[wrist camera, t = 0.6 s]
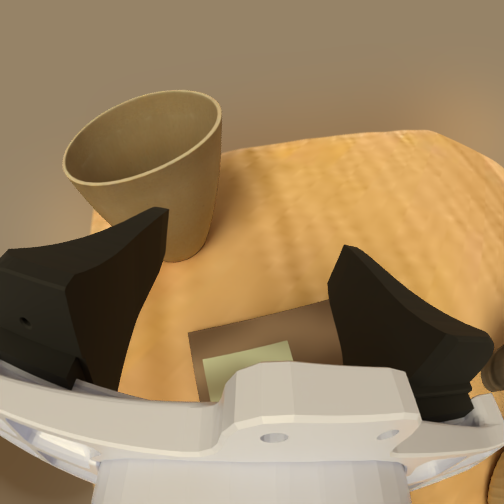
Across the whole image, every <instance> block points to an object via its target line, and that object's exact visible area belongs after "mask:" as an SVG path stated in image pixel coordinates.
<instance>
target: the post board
mask: <svg viewBox="0 0 504 504" xmlns="http://www.w3.org/2000/svg"><path fill="white" fill-rule="evenodd" d="M188 337H189V343H190V349H191V355H192V361H193V367H194V373H195V378H196V384H197V389H198V394H199V400H200V402H219V400H220V399H221V397H222V394H223V390H224V387H225V384H226V383H227V382H228V380H229V379H230V378H231V377H232V376H233V375H234V374H235V373H236V371H238V370H240V369H243V368H246V367H248V366H251V365H254V364H257V363H260V362H262V361H287V360H288V361H298V362H308V363H319V364H332V365H343V358H342V351H341V346H340V342H339V338H338V334H337V330H336V326H335V322H334V319H333V315H332V311H331V307H330V303H329V299H328V300H325V301H321V302H317V303H314V304H310V305H306V306H302V307H298V308H295V309H291V310H287V311H283V312H279V313H275V314H271V315H267V316H262V317H258V318H254V319H250V320H245V321H241V322H236V323H232V324H227V325H223V326H218V327H213V328H209V329H204V330H199V331H194V332H189V333H188Z"/></svg>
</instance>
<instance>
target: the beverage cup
mask: <svg viewBox="0 0 504 504" xmlns="http://www.w3.org/2000/svg"><path fill="white" fill-rule="evenodd" d="M481 378H482V382H483V384H484V386H485V388H486V389H488V390H489V391H491V392H496V391H501V390H504V345H503V346H501V347H500V348H499V349H497V350H496V351H495V352H494V353H493V354H492V356H491V358H490V360H489V361H488V362H487V364H486V365H485V366H484V367H483V368H482V369H481Z"/></svg>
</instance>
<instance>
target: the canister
mask: <svg viewBox="0 0 504 504" xmlns="http://www.w3.org/2000/svg"><path fill="white" fill-rule="evenodd" d="M487 501H488V504H504V452H503V453H502V454H501V456H500V459H499V460H498V462H497V465H496V467H495V469H494V472H493V475H492V477H491V482H490V485H489V491H488V499H487Z"/></svg>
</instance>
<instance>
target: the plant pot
mask: <svg viewBox="0 0 504 504" xmlns="http://www.w3.org/2000/svg"><path fill="white" fill-rule="evenodd" d="M221 131H222V111H221V107H220V105H219V104H218V102H217V101H216V100H215V99H213V98H212V97H210V96H208V95H206V94H203V93H200V92H195V91H189V90H169V91H160V92H155V93H150V94H146V95H143V96H139V97H136V98H133V99H131V100H128V101H125V102H123V103H121V104H119V105H117V106H115V107H113V108H111V109H109V110H107V111H106V112H104V113H102V114H101V115H99V116H98V117H96V118H95V119H93V120H92V121H91V122H89V123H88V124H87V125H86V126H85V127H84V128H83V129H82V130H81V131H80V132H79V133H78V134H77V135H76V136H75V137H74V138H73V139H72V141H71V142H70V144H69V145H68V147H67V149H66V151H65V154H64V157H63V163H62V165H63V171H64V173H65V174H66V176H67V177H68V179H69V180H70V181H71V182H72V184H73V185H74V186H75V187H76V189H77V190H78V191H79V192H80V193H81V194H82V195H83V197H84V198H85V199H86V200H87V201H88V202H89V204H90V205H91V206H92V207H93V208H94V209H95V210H96V211H97V212H98V213H99V214H100V215H101V216H102V217H103V218H104V219H105V220H106V221H107V222H108V223H109V224H110V225H111V226H114V225H117V224H119V223H121V222H123V221H125V220H127V219H129V218H131V217H133V216H135V215H137V214H139V213H141V212H143V211H145V210H147V209H149V208H152V207H161V208H167V209H169V219H168V229H167V241H166V253H165V256H164V259H163V261H166V262H179V261H183V260H185V259H188V258H190V257H192V256H193V255H195V254H196V253H197V252H198V251H199V250H200V249H201V248H202V246H203V245H204V243H205V241H206V238H207V235H208V231H209V228H210V224H211V221H212V216H213V212H214V207H215V201H216V196H217V189H218V181H219V172H220V158H221Z"/></svg>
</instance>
